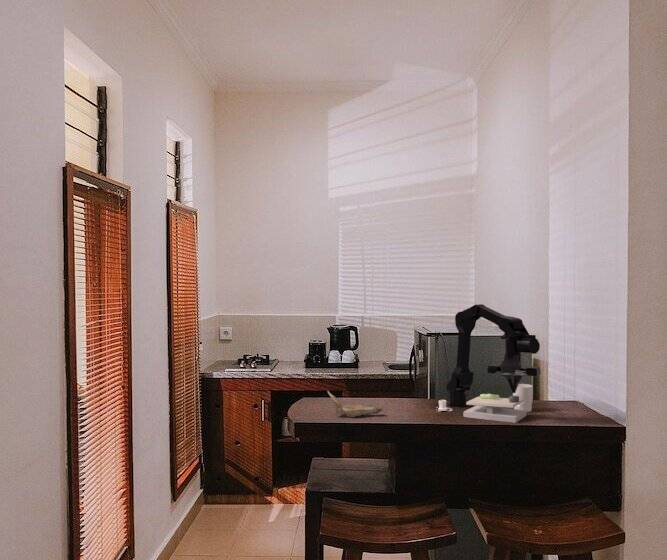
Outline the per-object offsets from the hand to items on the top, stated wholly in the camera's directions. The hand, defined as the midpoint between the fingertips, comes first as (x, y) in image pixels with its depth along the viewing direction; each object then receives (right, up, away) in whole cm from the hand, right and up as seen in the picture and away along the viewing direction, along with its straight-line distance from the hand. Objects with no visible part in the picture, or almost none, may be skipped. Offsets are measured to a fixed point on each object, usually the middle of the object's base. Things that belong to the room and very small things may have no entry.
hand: (513, 392), depth 233 cm
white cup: (+8, -10, +14) cm, 19 cm away
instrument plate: (-6, -5, +4) cm, 9 cm away
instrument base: (-6, -10, +4) cm, 12 cm away
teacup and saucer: (-27, -11, +17) cm, 33 cm away
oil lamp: (-60, -11, +8) cm, 61 cm away
